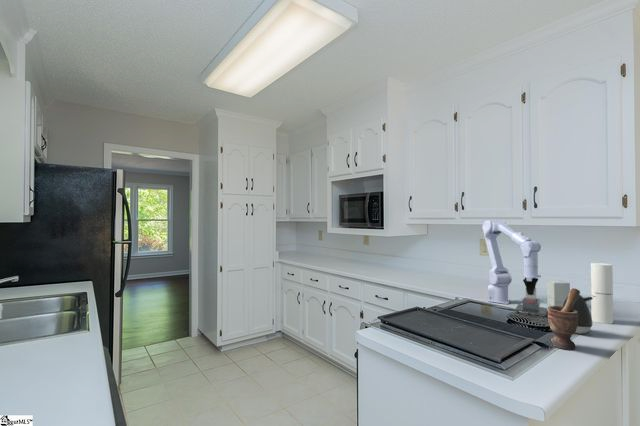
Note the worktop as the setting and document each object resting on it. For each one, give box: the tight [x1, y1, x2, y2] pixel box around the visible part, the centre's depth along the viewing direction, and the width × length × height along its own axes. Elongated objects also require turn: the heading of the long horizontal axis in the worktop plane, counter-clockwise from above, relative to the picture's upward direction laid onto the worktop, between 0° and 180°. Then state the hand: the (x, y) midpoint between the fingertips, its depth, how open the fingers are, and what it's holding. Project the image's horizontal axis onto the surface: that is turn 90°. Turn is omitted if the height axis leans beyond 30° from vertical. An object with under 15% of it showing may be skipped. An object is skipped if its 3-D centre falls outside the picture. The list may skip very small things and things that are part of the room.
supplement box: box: [546, 279, 571, 307], centre depth 167 cm, size 7×7×13 cm
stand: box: [514, 296, 548, 317], centre depth 157 cm, size 12×12×6 cm
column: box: [525, 287, 538, 301], centre depth 157 cm, size 4×4×8 cm
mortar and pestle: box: [547, 287, 581, 351], centre depth 117 cm, size 12×9×20 cm
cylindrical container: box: [590, 262, 614, 325], centre depth 143 cm, size 7×7×25 cm
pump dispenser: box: [562, 294, 593, 335], centre depth 130 cm, size 10×10×15 cm
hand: (530, 293), depth 157 cm, fingers closed on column, 4 cm apart
